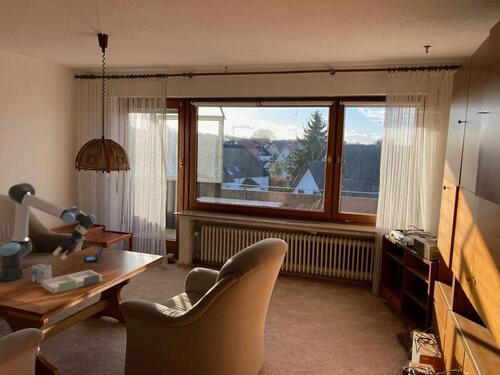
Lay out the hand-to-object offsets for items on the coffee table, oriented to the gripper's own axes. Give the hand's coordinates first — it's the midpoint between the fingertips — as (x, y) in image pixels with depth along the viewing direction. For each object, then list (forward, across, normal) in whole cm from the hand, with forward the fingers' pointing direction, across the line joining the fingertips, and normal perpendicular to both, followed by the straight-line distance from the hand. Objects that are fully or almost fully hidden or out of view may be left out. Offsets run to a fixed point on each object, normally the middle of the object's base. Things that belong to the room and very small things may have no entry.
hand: (57, 257), depth 271 cm
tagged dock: (+9, -18, -12) cm, 24 cm away
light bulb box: (+18, 0, -3) cm, 19 cm away
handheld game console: (-16, +24, -38) cm, 48 cm away
